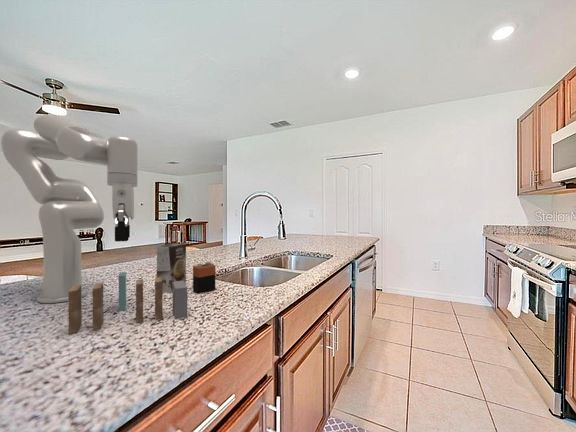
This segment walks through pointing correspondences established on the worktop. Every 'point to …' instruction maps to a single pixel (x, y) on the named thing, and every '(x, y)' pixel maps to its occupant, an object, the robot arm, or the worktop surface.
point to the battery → (203, 277)
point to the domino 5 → (158, 298)
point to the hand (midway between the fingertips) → (122, 239)
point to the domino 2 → (97, 306)
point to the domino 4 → (139, 301)
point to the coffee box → (171, 264)
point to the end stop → (179, 299)
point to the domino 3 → (122, 291)
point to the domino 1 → (75, 309)
